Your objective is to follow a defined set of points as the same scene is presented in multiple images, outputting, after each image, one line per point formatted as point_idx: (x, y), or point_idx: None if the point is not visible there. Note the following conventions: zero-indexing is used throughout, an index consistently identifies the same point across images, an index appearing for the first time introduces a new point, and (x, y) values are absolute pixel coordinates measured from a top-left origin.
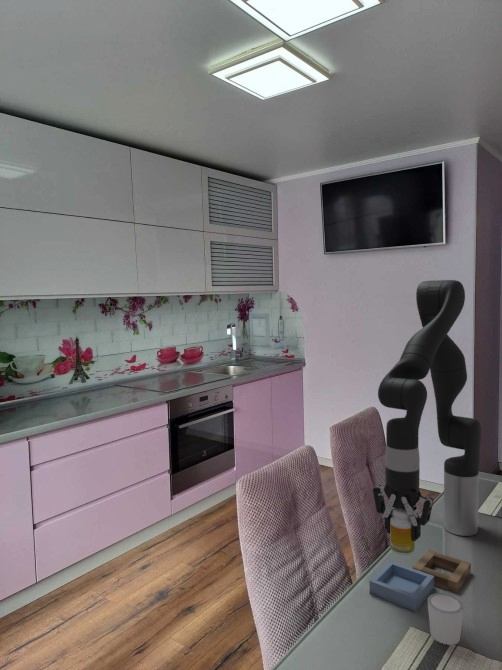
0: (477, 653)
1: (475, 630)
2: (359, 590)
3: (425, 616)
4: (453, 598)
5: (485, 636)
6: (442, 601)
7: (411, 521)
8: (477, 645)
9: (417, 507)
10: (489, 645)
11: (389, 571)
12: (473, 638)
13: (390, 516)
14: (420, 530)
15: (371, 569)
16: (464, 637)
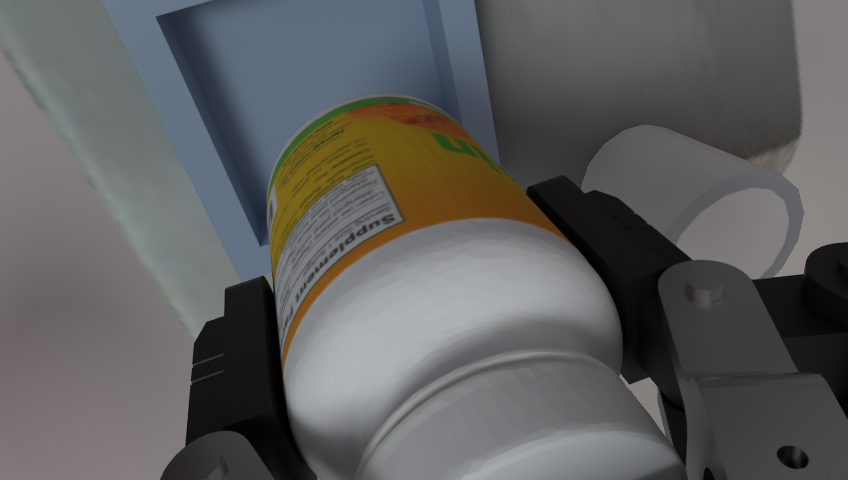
0: (748, 160)
1: (717, 48)
2: (191, 268)
3: (525, 151)
4: (749, 188)
5: (756, 49)
6: (713, 250)
7: (614, 366)
8: (740, 124)
9: (845, 437)
10: (776, 86)
11: (182, 63)
12: (721, 101)
13: (286, 475)
14: (652, 230)
15: (11, 58)
16: (692, 126)
